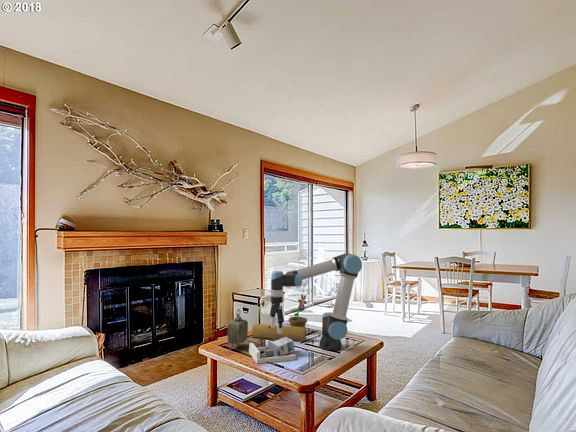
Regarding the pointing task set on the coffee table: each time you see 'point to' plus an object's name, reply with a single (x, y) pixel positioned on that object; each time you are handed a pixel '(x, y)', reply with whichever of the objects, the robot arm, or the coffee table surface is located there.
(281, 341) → the light bulb box
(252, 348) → the open rectangular frame
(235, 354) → the coffee table surface
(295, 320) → the flowerpot
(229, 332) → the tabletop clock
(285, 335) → the log
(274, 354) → the pusher
